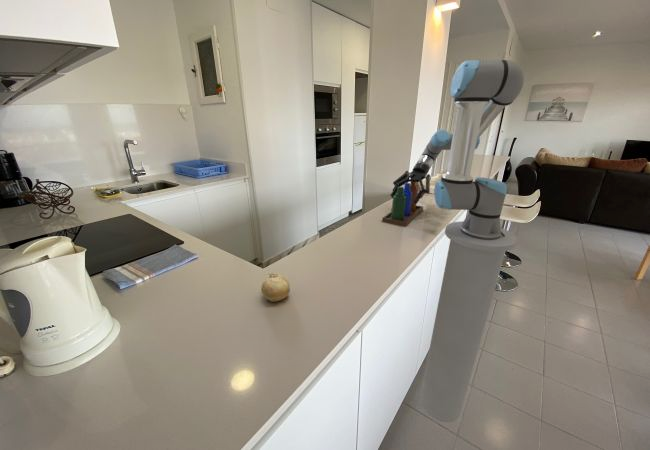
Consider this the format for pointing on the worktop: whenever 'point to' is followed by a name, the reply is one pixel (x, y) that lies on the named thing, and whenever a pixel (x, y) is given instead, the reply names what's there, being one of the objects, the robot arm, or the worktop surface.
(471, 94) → the robot arm
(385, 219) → the tray
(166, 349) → the worktop surface
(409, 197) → the blue bottle
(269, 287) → the onion
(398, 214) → the green bottle
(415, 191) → the amber bottle
